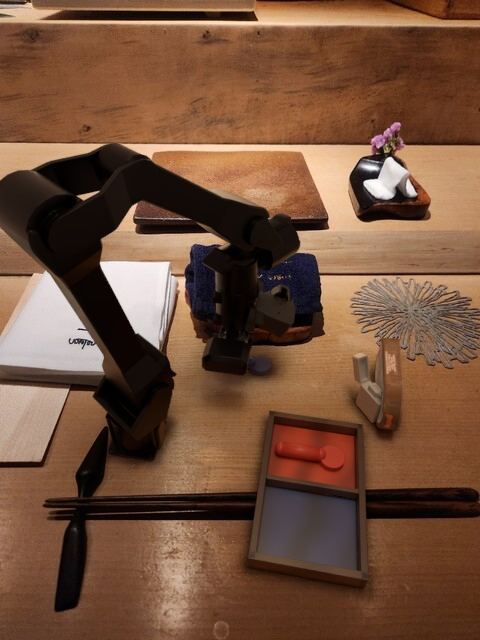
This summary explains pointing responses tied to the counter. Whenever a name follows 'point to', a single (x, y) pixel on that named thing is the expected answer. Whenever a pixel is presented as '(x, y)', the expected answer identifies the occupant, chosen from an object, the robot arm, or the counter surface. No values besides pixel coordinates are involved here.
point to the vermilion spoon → (314, 454)
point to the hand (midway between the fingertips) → (234, 359)
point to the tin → (390, 383)
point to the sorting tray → (311, 504)
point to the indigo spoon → (259, 365)
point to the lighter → (366, 388)
